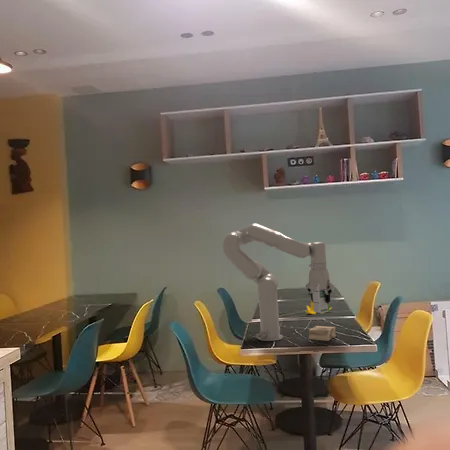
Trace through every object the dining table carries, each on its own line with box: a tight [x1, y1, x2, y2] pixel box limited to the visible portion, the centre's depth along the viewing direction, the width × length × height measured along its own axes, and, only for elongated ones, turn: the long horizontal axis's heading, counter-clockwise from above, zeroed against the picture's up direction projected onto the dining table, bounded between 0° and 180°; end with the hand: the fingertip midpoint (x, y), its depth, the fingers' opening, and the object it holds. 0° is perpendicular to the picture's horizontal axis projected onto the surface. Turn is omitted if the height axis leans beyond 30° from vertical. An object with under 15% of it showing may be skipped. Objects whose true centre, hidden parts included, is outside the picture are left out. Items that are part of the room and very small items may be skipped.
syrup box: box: [312, 284, 330, 314], centre depth 258 cm, size 6×6×14 cm
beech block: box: [308, 325, 337, 342], centre depth 258 cm, size 10×10×5 cm
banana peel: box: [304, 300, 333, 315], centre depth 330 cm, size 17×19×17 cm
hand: (320, 301), depth 258 cm, fingers closed on syrup box, 7 cm apart
